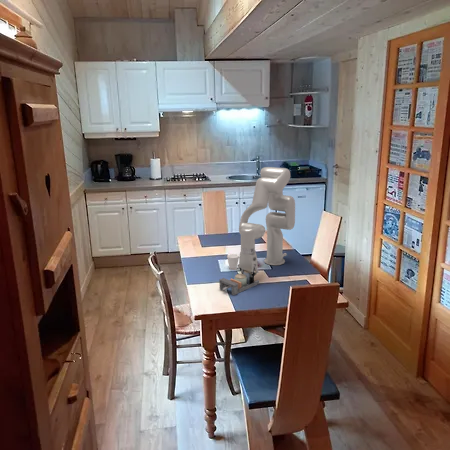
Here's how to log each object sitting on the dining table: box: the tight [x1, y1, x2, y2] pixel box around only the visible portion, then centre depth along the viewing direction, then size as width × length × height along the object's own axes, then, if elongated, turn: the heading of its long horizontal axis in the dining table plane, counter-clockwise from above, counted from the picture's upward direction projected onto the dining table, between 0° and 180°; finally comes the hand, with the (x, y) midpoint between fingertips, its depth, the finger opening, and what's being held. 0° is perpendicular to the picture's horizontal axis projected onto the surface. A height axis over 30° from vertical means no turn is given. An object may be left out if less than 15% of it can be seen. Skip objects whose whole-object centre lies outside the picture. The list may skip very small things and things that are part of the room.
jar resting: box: [234, 273, 247, 287], centre depth 224 cm, size 6×6×6 cm
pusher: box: [221, 277, 241, 291], centre depth 219 cm, size 10×7×4 cm
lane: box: [219, 277, 260, 296], centre depth 224 cm, size 20×11×6 cm, turn 134°
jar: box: [243, 270, 253, 284], centre depth 228 cm, size 5×5×7 cm
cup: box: [226, 253, 240, 271], centre depth 249 cm, size 7×10×8 cm
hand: (248, 281), depth 229 cm, fingers closed on jar, 4 cm apart
